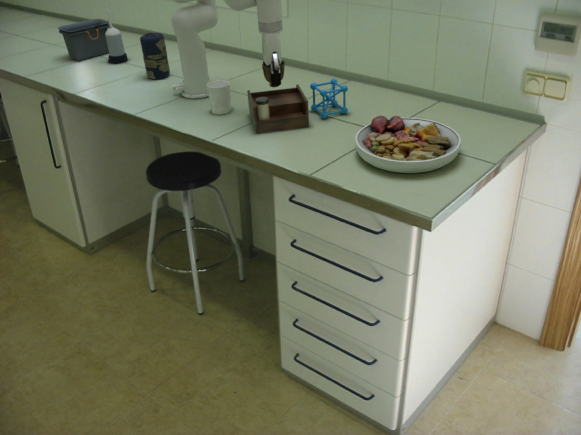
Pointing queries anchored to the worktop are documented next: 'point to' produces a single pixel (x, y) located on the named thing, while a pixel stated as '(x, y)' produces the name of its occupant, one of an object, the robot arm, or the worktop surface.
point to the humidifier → (115, 43)
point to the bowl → (407, 144)
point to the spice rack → (280, 110)
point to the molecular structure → (329, 98)
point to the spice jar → (262, 108)
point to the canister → (155, 55)
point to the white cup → (219, 96)
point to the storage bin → (85, 38)
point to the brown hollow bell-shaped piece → (268, 70)
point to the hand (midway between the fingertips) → (274, 80)
